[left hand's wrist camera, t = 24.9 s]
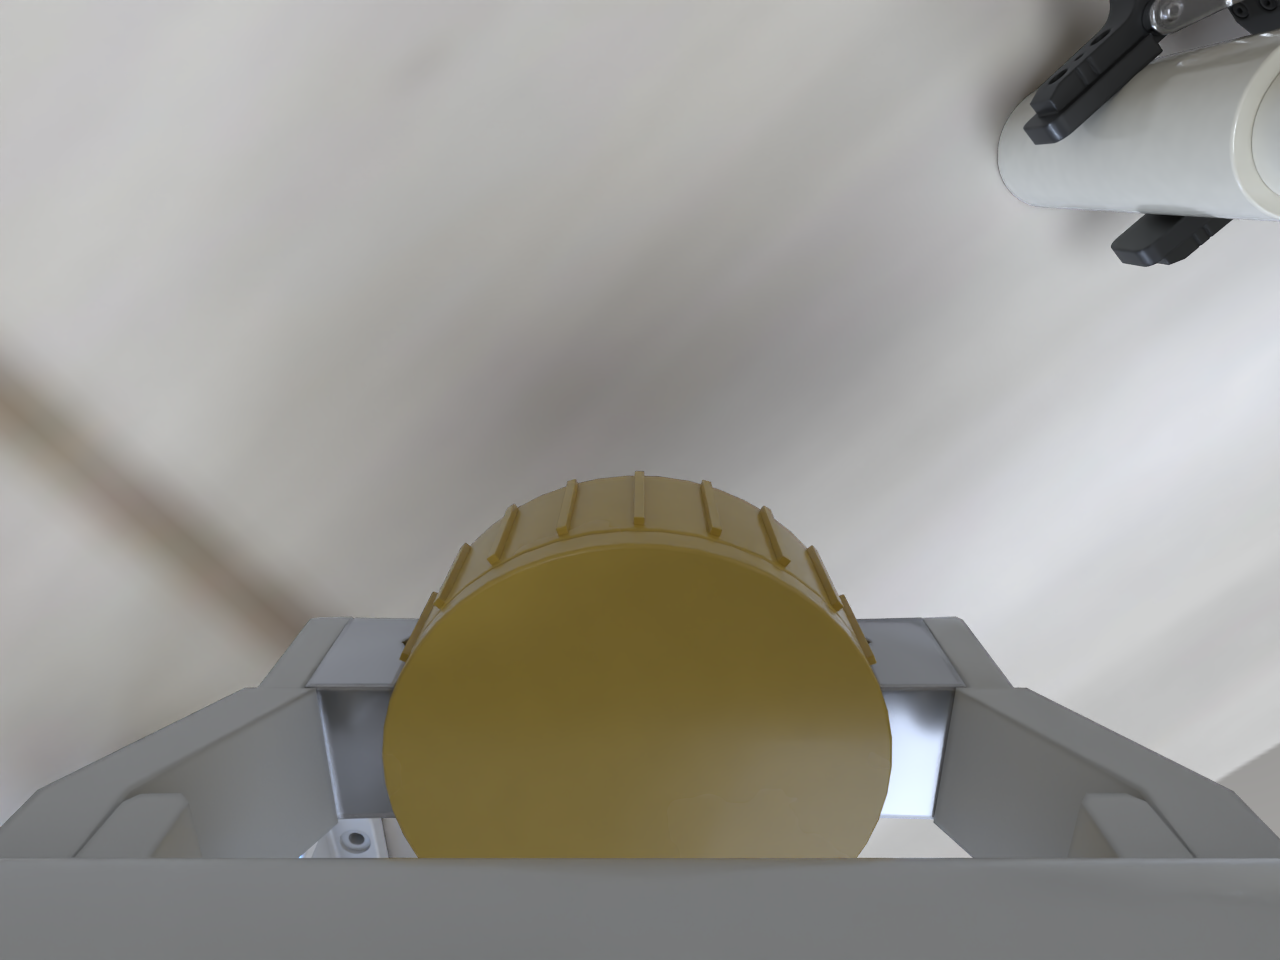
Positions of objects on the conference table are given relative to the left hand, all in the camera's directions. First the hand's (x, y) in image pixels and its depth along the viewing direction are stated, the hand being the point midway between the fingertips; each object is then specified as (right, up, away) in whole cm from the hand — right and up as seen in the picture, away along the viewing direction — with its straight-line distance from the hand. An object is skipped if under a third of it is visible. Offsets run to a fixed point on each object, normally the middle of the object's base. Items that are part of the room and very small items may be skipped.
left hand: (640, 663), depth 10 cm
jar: (+17, +16, +22) cm, 32 cm away
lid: (0, -1, -2) cm, 2 cm away
